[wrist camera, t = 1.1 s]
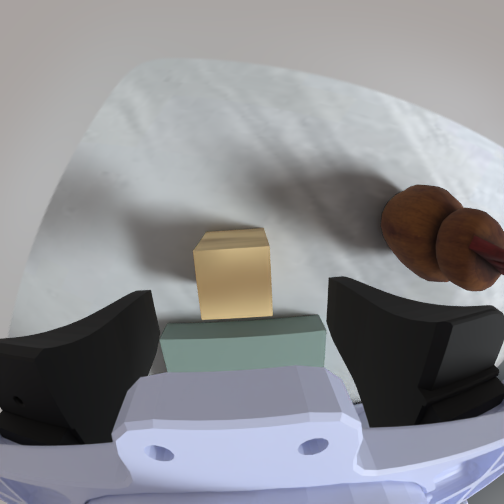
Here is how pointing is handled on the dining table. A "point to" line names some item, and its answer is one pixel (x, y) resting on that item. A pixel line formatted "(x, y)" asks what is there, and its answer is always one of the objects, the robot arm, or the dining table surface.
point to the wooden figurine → (444, 238)
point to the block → (233, 274)
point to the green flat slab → (244, 344)
